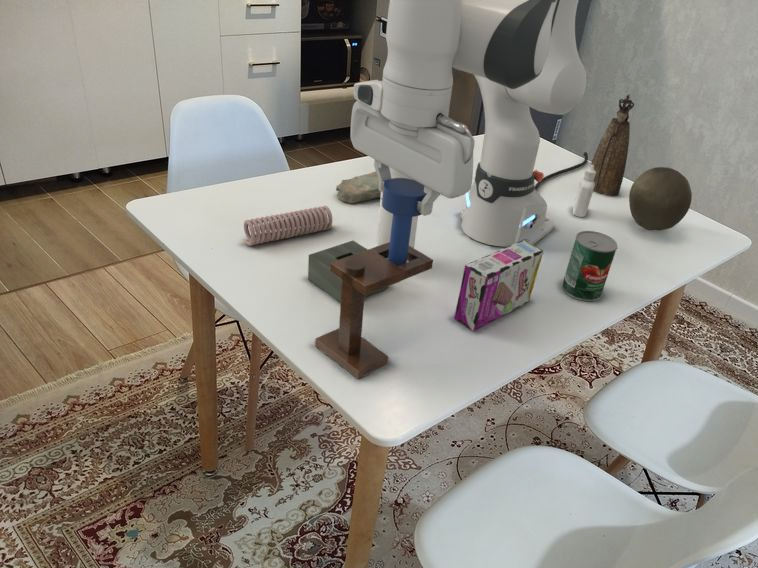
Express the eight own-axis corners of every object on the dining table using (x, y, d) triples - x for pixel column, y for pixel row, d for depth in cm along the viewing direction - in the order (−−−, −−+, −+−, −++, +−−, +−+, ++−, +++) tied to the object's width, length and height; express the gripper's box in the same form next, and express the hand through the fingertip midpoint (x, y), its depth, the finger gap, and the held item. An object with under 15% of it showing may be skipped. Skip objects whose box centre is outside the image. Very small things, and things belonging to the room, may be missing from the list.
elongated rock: (324, 197, 146) (353, 217, 142) (324, 175, 142) (355, 195, 138) (433, 162, 168) (461, 178, 164) (436, 142, 164) (465, 158, 160)
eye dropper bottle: (565, 211, 158) (578, 163, 151) (578, 206, 161) (591, 159, 154) (579, 218, 156) (593, 170, 149) (592, 213, 159) (606, 166, 152)
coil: (250, 229, 118) (337, 212, 128) (239, 215, 120) (325, 200, 131) (250, 250, 121) (335, 232, 131) (239, 237, 123) (323, 220, 134)
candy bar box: (487, 278, 104) (545, 249, 115) (463, 264, 106) (522, 237, 117) (474, 334, 111) (530, 302, 122) (452, 320, 113) (509, 289, 124)
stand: (384, 315, 111) (393, 228, 101) (426, 343, 106) (440, 256, 97) (314, 346, 101) (317, 253, 92) (357, 379, 96) (365, 285, 87)
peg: (397, 254, 102) (406, 174, 94) (425, 271, 99) (437, 191, 91) (367, 264, 98) (374, 182, 90) (395, 283, 95) (405, 200, 87)
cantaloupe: (620, 211, 163) (638, 153, 154) (676, 224, 162) (698, 166, 153) (619, 235, 152) (639, 173, 143) (679, 249, 151) (703, 188, 142)
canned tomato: (575, 275, 133) (589, 226, 126) (608, 292, 129) (625, 243, 123) (554, 288, 127) (568, 237, 121) (588, 306, 124) (604, 255, 117)
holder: (351, 264, 122) (353, 240, 119) (388, 287, 118) (390, 263, 115) (307, 279, 116) (308, 254, 113) (344, 305, 111) (346, 280, 108)
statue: (588, 193, 169) (616, 94, 155) (582, 181, 175) (609, 85, 161) (620, 197, 171) (651, 100, 156) (613, 185, 177) (642, 90, 162)
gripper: (492, 126, 81) (473, 226, 90) (380, 77, 91) (372, 172, 99) (458, 133, 77) (442, 238, 85) (345, 81, 87) (340, 180, 95)
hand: (404, 202), depth 92 cm, fingers closed on peg, 6 cm apart
